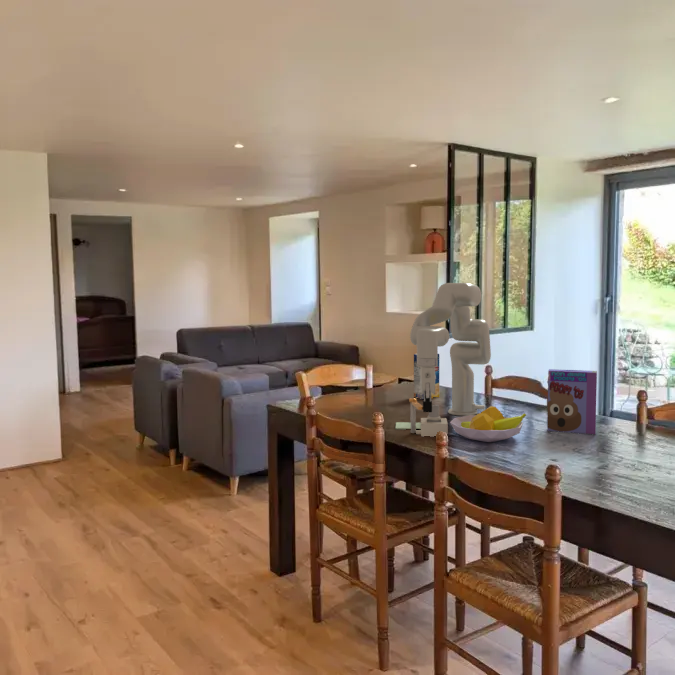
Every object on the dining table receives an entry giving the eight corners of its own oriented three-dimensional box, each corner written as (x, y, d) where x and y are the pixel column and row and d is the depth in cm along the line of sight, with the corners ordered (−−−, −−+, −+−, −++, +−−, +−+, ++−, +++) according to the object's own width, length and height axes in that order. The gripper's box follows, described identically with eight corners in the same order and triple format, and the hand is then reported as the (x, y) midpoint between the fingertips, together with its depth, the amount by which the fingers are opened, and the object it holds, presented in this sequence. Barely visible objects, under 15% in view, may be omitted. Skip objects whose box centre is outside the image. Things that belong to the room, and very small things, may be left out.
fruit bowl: (436, 435, 250) (436, 406, 248) (488, 426, 263) (489, 398, 262) (487, 452, 226) (488, 419, 224) (542, 441, 239) (543, 410, 238)
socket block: (446, 430, 257) (446, 400, 256) (447, 436, 247) (447, 405, 246) (410, 430, 258) (410, 399, 257) (410, 436, 249) (410, 404, 247)
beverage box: (413, 397, 327) (413, 354, 325) (430, 395, 333) (430, 352, 331) (422, 399, 321) (422, 355, 319) (439, 397, 327) (439, 353, 325)
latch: (424, 409, 240) (424, 405, 239) (416, 409, 239) (416, 405, 239) (416, 401, 254) (416, 397, 254) (408, 402, 254) (408, 398, 253)
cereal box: (547, 431, 254) (548, 370, 251) (548, 428, 258) (549, 368, 256) (595, 434, 247) (596, 372, 245) (595, 431, 252) (596, 370, 249)
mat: (420, 423, 269) (420, 422, 269) (420, 429, 259) (420, 428, 259) (396, 423, 270) (396, 422, 270) (395, 429, 260) (395, 427, 260)
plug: (440, 432, 255) (440, 404, 254) (440, 435, 250) (440, 406, 249) (427, 431, 255) (427, 404, 254) (427, 434, 250) (427, 406, 249)
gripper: (438, 365, 230) (438, 416, 232) (436, 359, 244) (436, 407, 246) (417, 365, 230) (417, 416, 232) (416, 359, 245) (416, 407, 247)
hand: (427, 411), depth 239 cm, fingers closed
